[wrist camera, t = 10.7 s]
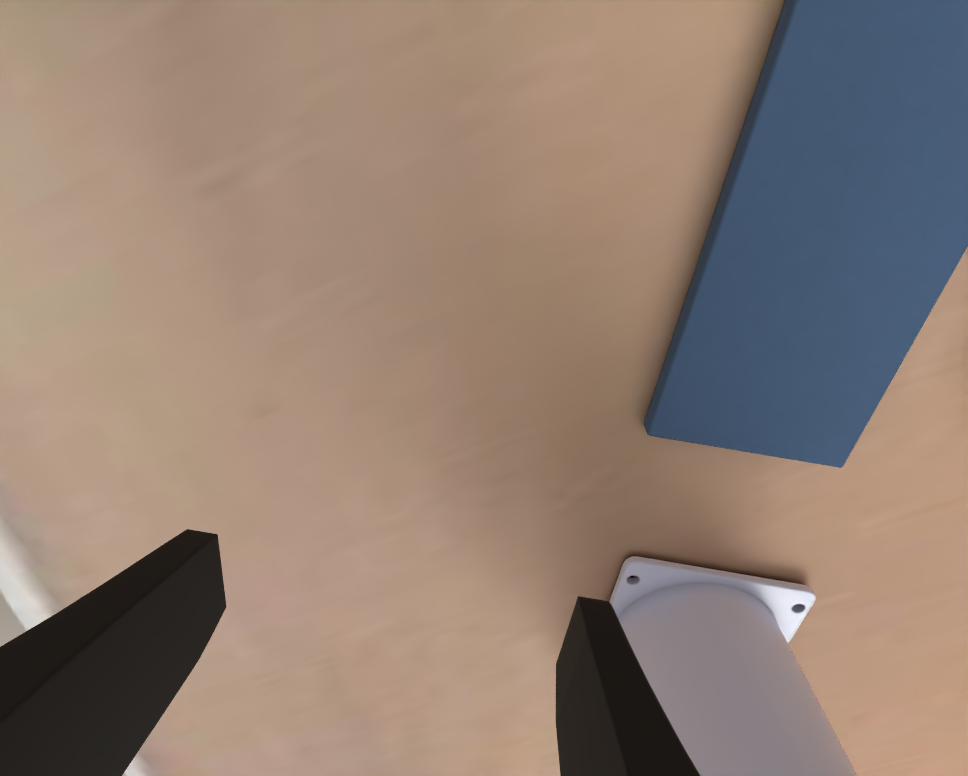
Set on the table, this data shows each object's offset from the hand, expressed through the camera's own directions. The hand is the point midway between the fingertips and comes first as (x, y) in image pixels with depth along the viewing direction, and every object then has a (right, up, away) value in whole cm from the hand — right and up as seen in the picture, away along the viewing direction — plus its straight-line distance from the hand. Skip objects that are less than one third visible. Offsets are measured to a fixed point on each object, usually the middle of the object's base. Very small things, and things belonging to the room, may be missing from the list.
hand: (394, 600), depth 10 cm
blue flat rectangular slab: (+12, +9, +5) cm, 16 cm away
